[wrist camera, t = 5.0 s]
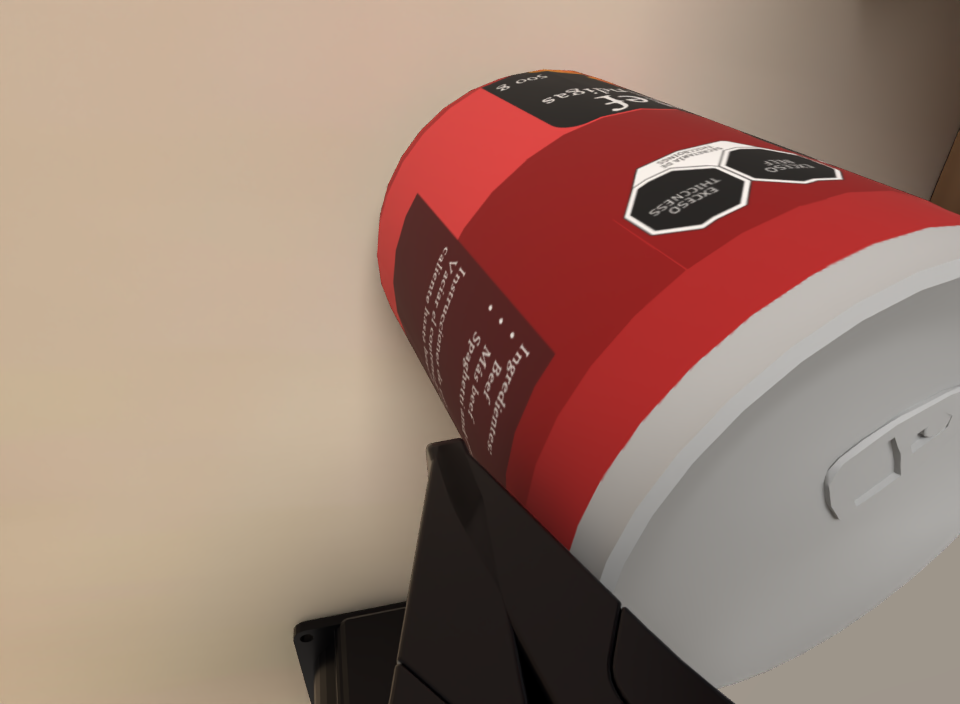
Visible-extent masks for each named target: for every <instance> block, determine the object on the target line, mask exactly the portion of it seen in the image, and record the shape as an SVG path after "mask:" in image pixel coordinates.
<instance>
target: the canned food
mask: <svg viewBox="0 0 960 704" xmlns="http://www.w3.org/2000/svg"><path fill="white" fill-rule="evenodd" d="M377 258H378V264H379V271H380V278H381V284H382V286H383V289H384V291H385V294H386V296H387V299H388V301H389V304H390V306H391V309H392V311H393V312H394V314H395V316H396V318H397V320H398V322H399V323H400V325H401V327H402V329H403V331H404V333H405V334H406V336H407V338H408V340H409V342H410V344H411V345H412V347H413V349H414V351H415V353H416V355H417V356H418V358H419V360H420V362H421V364H422V366H423V367H424V369H425V371H426V373H427V375H428V377H429V378H430V380H431V382H432V384H433V386H434V388H435V389H436V391H437V393H438V395H439V397H440V399H441V400H442V402H443V404H444V406H445V408H446V410H447V411H448V413H449V415H450V417H451V419H452V421H453V422H454V424H455V426H456V428H457V430H458V432H459V433H460V435H461V437H462V439H463V440H464V441H465V443H466V445H467V448H468V450H469V452H470V454H471V455H472V456H473V457H474V458H475V459H476V460H477V461H478V462H479V463H480V464H481V465H482V466H483V467H484V468H485V469H486V470H487V471H488V472H489V473H490V474H491V475H492V476H493V477H494V478H495V479H496V480H497V481H498V482H499V483H500V484H501V485H502V486H503V487H504V488H505V489H506V490H507V491H508V492H509V493H510V494H511V495H512V496H513V497H514V498H516V499H517V500H518V501H519V502H520V503H521V504H522V505H523V506H524V507H525V508H526V509H527V510H528V511H529V512H530V513H531V514H532V515H533V516H534V517H535V518H536V519H537V520H538V521H539V522H540V523H541V524H542V525H543V526H544V527H545V528H546V529H547V530H548V531H549V532H550V533H551V534H552V535H553V536H554V537H555V538H556V539H557V540H558V541H559V542H560V543H561V544H562V545H563V546H564V547H566V548H567V549H568V550H569V551H570V552H571V553H572V554H573V555H574V556H575V557H576V558H577V559H578V560H579V561H580V562H581V563H582V564H583V565H584V566H585V567H586V568H587V569H588V570H589V571H590V572H591V573H592V574H593V575H594V576H595V577H596V578H597V579H598V580H599V581H600V582H601V583H602V584H603V585H604V586H605V587H606V588H607V589H608V590H609V591H610V592H611V593H612V594H613V595H614V596H616V597H617V598H618V599H619V600H620V602H621V603H622V606H621V608H622V607H627V608H628V609H629V610H630V611H631V612H632V613H633V614H634V615H635V616H636V617H637V618H638V619H639V620H640V621H641V622H642V623H643V624H644V625H645V626H646V627H647V628H648V629H649V630H650V631H652V632H653V633H654V634H655V635H656V636H657V637H658V638H659V639H660V640H661V641H662V642H663V643H665V644H666V645H667V646H668V647H669V648H670V649H671V650H672V651H673V652H674V653H675V654H676V655H677V656H679V657H680V658H681V659H682V660H683V661H684V662H685V663H686V664H688V665H689V666H690V667H691V668H692V669H694V670H695V671H696V672H697V673H698V674H700V675H701V676H702V677H703V678H704V679H706V680H707V681H708V682H709V683H710V684H712V685H713V686H714V687H715V688H716V689H718V688H722V687H725V686H729V685H733V684H736V683H739V682H741V681H744V680H746V679H749V678H751V677H754V676H757V675H759V674H761V673H764V672H767V671H769V670H771V669H773V668H775V667H777V666H779V665H781V664H783V663H785V662H787V661H789V660H791V659H793V658H795V657H797V656H799V655H801V654H803V653H805V652H807V651H808V650H810V649H812V648H814V647H815V646H817V645H819V644H820V643H822V642H824V641H825V640H827V639H829V638H830V637H832V636H834V635H835V634H837V633H839V632H840V631H842V630H843V629H844V628H846V627H847V626H849V625H850V624H852V623H853V622H855V621H856V620H858V619H859V618H860V617H862V616H864V615H865V614H866V613H867V612H869V611H871V610H872V609H874V608H875V607H876V606H878V605H879V604H880V603H881V602H883V601H884V600H885V599H887V598H888V597H889V596H890V595H892V594H893V593H894V592H895V591H897V590H898V589H899V588H901V587H902V586H903V585H904V584H906V583H907V582H908V581H909V580H911V579H912V578H913V577H914V576H915V575H916V574H917V573H918V572H920V571H921V570H922V569H923V568H924V567H925V566H926V565H928V564H929V563H930V562H931V561H932V560H933V559H934V558H936V557H937V556H938V555H939V554H940V553H941V552H942V551H943V550H944V549H945V548H946V547H947V546H948V545H949V544H950V543H951V542H952V541H953V540H954V539H955V538H956V537H957V536H958V535H959V534H960V215H959V214H956V213H954V212H951V211H948V210H946V209H944V208H942V207H940V206H938V205H936V204H933V203H931V202H929V201H927V200H925V199H922V198H919V197H917V196H914V195H911V194H909V193H906V192H903V191H900V190H898V189H895V188H892V187H890V186H887V185H884V184H882V183H879V182H876V181H874V180H871V179H868V178H865V177H863V176H860V175H857V174H855V173H852V172H849V171H847V170H844V169H841V168H839V167H836V166H833V165H830V164H828V163H825V162H822V161H820V160H817V159H814V158H812V157H809V156H806V155H804V154H801V153H798V152H795V151H793V150H790V149H787V148H785V147H782V146H779V145H777V144H774V143H771V142H769V141H766V140H763V139H760V138H758V137H755V136H752V135H750V134H747V133H744V132H742V131H739V130H736V129H734V128H731V127H728V126H725V125H723V124H720V123H717V122H715V121H712V120H709V119H707V118H704V117H701V116H699V115H696V114H693V113H690V112H688V111H685V110H682V109H680V108H677V107H674V106H672V105H669V104H666V103H664V102H661V101H658V100H655V99H653V98H650V97H647V96H645V95H642V94H639V93H637V92H634V91H631V90H628V89H626V88H623V87H620V86H618V85H615V84H612V83H610V82H607V81H604V80H602V79H599V78H595V77H592V76H589V75H585V74H582V73H579V72H575V71H565V70H538V71H532V72H527V73H522V74H516V75H511V76H508V77H504V78H501V79H498V80H495V81H493V82H491V83H488V84H486V85H483V86H481V87H478V88H476V89H474V90H471V91H469V92H468V93H466V94H465V95H463V96H462V97H460V98H459V99H457V100H456V101H454V102H453V103H451V104H450V105H448V106H447V107H445V108H444V109H443V110H441V111H440V112H439V113H438V114H437V115H436V116H435V117H434V118H433V119H432V120H431V121H430V122H429V123H428V124H427V125H426V126H425V127H424V128H423V129H422V130H421V131H420V132H419V133H418V135H417V136H416V137H415V139H414V140H413V142H412V143H411V144H410V146H409V147H408V149H407V150H406V151H405V153H404V154H403V155H402V157H401V159H400V161H399V163H398V165H397V167H396V169H395V171H394V174H393V176H392V178H391V180H390V182H389V184H388V187H387V191H386V194H385V198H384V202H383V206H382V209H381V213H380V222H379V235H378V251H377Z"/></svg>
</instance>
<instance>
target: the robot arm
mask: <svg viewBox="0 0 960 704" xmlns="http://www.w3.org/2000/svg"><path fill="white" fill-rule="evenodd" d="M426 458H427V470H428V483H427V489H426V495H425V500H424V506H423V512H422V517H421V523H420V529H419V534H418V540H417V546H416V552H415V557H414V563H413V569H412V574H411V580H410V586H409V592H408V597H407V602H402V603H397V604H392V605H387V606H382V607H377V608H372V609H367V610H361V611H356V612H351V613H346V614H341V615H336V616H331V617H326V618H320V619H315V620H310V621H305V622H302V623H299V624H298V625H296V626H295V628H294V644H295V648H296V652H297V655H298V659H299V662H300V666H301V669H302V673H303V676H304V680H305V683H306V687H307V690H308V694H309V697H310V701H311V704H735V703H733V702H732V701H731V700H730V699H728V698H727V697H726V696H725V695H724V694H722V693H721V692H720V691H719V690H718V689H716V688H715V687H714V686H713V685H712V684H710V683H709V682H708V681H707V680H706V679H704V678H703V677H702V676H701V675H700V674H698V673H697V672H696V671H695V670H694V669H692V668H691V667H690V666H689V665H688V664H686V663H685V662H684V661H683V660H682V659H681V658H680V657H679V656H677V655H676V654H675V653H674V652H673V651H672V650H671V649H670V648H669V647H668V646H667V645H666V644H665V643H663V642H662V641H661V640H660V639H659V638H658V637H657V636H656V635H655V634H654V633H653V632H652V631H650V630H649V629H648V628H647V627H646V626H645V625H644V624H643V623H642V622H641V621H640V620H639V619H638V618H637V617H636V616H635V615H634V614H633V613H632V612H631V611H630V610H629V609H628V608H627V607H622V608H621V606H622V603H621V602H620V600H619V599H618V598H617V597H616V596H614V595H613V594H612V593H611V592H610V591H609V590H608V589H607V588H606V587H605V586H604V585H603V584H602V583H601V582H600V581H599V580H598V579H597V578H596V577H595V576H594V575H593V574H592V573H591V572H590V571H589V570H588V569H587V568H586V567H585V566H584V565H583V564H582V563H581V562H580V561H579V560H578V559H577V558H576V557H575V556H574V555H573V554H572V553H571V552H570V551H569V550H568V549H567V548H566V547H564V546H563V545H562V544H561V543H560V542H559V541H558V540H557V539H556V538H555V537H554V536H553V535H552V534H551V533H550V532H549V531H548V530H547V529H546V528H545V527H544V526H543V525H542V524H541V523H540V522H539V521H538V520H537V519H536V518H535V517H534V516H533V515H532V514H531V513H530V512H529V511H528V510H527V509H526V508H525V507H524V506H523V505H522V504H521V503H520V502H519V501H518V500H517V499H516V498H514V497H513V496H512V495H511V494H510V493H509V492H508V491H507V490H506V489H505V488H504V487H503V486H502V485H501V484H500V483H499V482H498V481H497V480H496V479H495V478H494V477H493V476H492V475H491V474H490V473H489V472H488V471H487V470H486V469H485V468H484V467H483V466H482V465H481V464H480V463H479V462H478V461H477V460H476V459H475V458H474V457H473V456H472V455H471V454H470V453H469V450H468V448H467V445H466V443H465V441H464V440H463V439H461V438H457V439H451V440H446V441H441V442H435V443H431V444H429V445H428V446H427V448H426Z"/></svg>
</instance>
